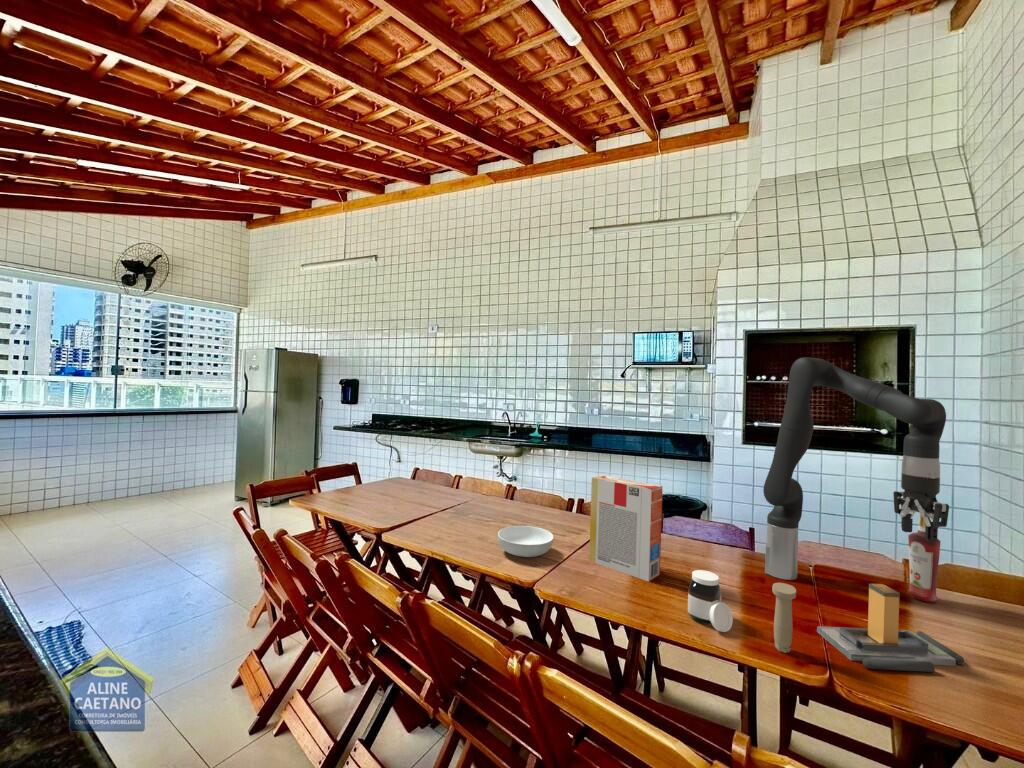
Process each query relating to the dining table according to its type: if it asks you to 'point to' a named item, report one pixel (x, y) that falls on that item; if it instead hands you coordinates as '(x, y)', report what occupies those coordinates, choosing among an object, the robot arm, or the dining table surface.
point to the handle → (783, 616)
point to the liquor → (923, 564)
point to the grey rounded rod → (899, 665)
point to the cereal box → (626, 526)
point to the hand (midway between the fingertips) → (918, 536)
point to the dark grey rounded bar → (942, 647)
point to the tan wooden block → (883, 614)
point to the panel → (884, 646)
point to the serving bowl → (525, 540)
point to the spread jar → (708, 601)
